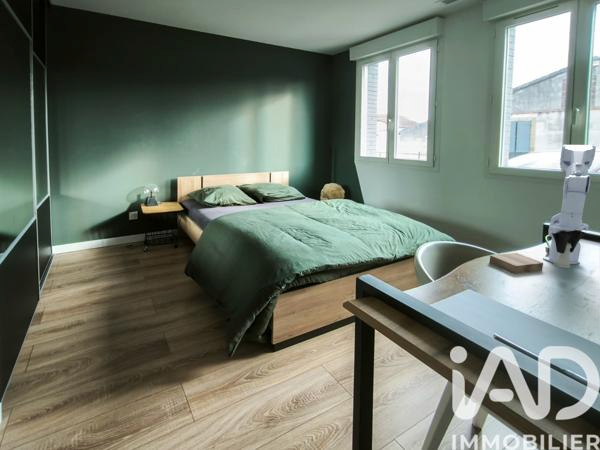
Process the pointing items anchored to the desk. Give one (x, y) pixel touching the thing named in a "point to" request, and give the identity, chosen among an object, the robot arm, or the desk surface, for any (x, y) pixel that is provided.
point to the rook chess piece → (564, 258)
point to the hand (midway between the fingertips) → (564, 252)
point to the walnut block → (516, 263)
